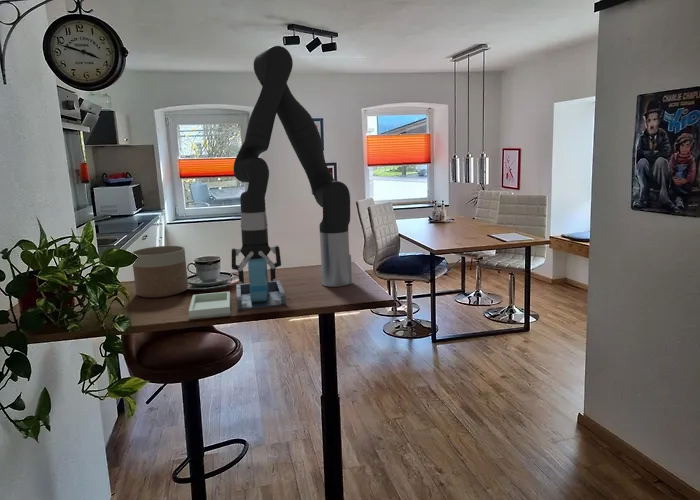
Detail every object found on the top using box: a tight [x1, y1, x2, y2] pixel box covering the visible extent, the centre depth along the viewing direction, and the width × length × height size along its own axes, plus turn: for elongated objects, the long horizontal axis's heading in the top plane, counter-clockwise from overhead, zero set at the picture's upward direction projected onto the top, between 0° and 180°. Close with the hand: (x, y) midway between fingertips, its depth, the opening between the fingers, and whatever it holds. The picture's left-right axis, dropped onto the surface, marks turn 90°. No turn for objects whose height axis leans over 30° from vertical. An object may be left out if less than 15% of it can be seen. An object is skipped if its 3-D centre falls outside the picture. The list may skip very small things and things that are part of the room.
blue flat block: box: [247, 258, 269, 302], centre depth 154 cm, size 12×4×12 cm, turn 6°
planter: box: [131, 245, 189, 299], centre depth 167 cm, size 16×16×14 cm
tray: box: [188, 290, 231, 320], centre depth 148 cm, size 11×17×2 cm, turn 13°
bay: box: [235, 279, 287, 311], centre depth 155 cm, size 13×18×3 cm
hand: (257, 281), depth 155 cm, fingers open, 8 cm apart
